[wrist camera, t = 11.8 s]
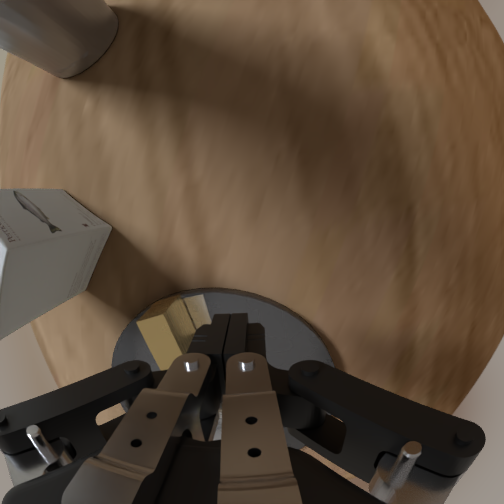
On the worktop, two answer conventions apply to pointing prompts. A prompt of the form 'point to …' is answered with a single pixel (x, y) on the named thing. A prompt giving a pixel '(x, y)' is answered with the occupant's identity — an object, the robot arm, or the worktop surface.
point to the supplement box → (44, 252)
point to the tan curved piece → (167, 330)
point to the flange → (259, 311)
